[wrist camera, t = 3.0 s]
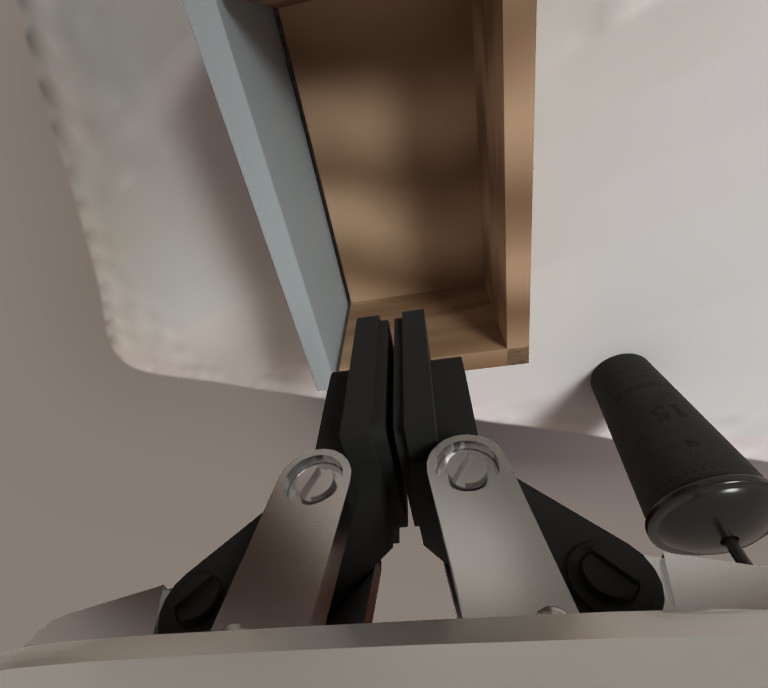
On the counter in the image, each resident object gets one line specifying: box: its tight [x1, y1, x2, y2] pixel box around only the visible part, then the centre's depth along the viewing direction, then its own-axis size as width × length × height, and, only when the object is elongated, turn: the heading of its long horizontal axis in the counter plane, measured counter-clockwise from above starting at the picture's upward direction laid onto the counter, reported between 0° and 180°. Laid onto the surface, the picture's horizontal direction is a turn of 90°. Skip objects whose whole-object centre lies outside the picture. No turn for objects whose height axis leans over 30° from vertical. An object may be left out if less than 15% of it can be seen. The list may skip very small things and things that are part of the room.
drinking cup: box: [591, 354, 768, 565], centre depth 29 cm, size 8×8×20 cm
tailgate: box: [182, 0, 350, 391], centre depth 24 cm, size 20×1×9 cm, turn 10°
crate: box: [248, 0, 537, 371], centre depth 24 cm, size 20×11×9 cm, turn 10°
